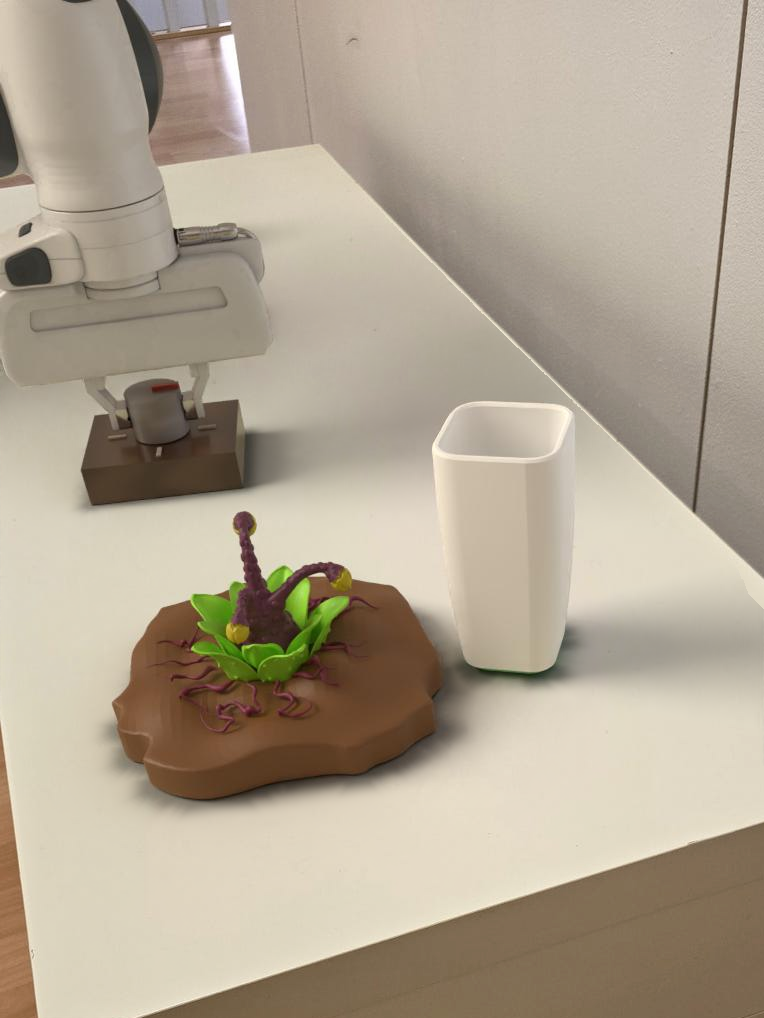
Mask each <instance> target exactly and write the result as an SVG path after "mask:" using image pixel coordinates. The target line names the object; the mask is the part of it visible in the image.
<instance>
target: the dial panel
mask: <svg viewBox="0 0 764 1018" xmlns="http://www.w3.org/2000/svg"><path fill="white" fill-rule="evenodd" d="M203 406H204V412H205V418H204V419H196V420H189V421H188V423H189V431H188V433H187V434H186V435H185V436H183V437H182V438H180V439H178V440H175V441H172V442H169V443H164V444H145V443H141V442H139V441H138V440H136V438H135V436H134V432H133V429H132V428H129V429H123V430H117V431H114V430H113V428H112V424H111V421H110V417H109V414H108V413H103V414H95V415H93V419H92V424H91V427H90V431H89V435H88V439H87V443H86V448H85V451H84V455H83V459H82V464H81V467H80V473H81V476H82V480H83V483H84V486H85V490H86V492H87V496H88V498H89V502H90V505H91V506H97V505H104V504H113V503H123V502H129V501H130V502H131V501H140V500H147V499H149V500H150V499H156V498H165V497H166V498H167V497H173V496H182V495H192V494H199V493H201V494H202V493H210V492H219V491H226V490H235V489H243V488H244V473H245V472H244V470H245V452H246V451H245V449H246V429H245V424H244V419H243V415H242V411H241V410H242V409H241V404H240V400H239V399H238V398H237V399H228V400H227V399H226V400H219V401H209V402H203Z"/></svg>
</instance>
